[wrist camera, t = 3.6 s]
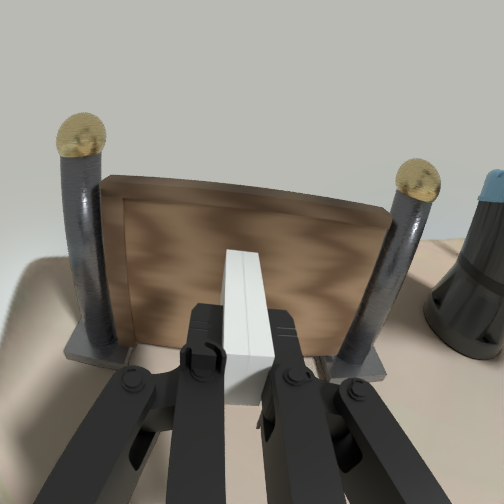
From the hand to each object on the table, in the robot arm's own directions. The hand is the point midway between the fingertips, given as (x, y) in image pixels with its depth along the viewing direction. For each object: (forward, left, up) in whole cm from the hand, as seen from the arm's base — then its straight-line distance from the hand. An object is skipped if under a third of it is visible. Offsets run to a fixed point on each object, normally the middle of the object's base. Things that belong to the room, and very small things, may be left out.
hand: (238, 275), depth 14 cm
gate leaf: (-3, -5, -12) cm, 13 cm away
